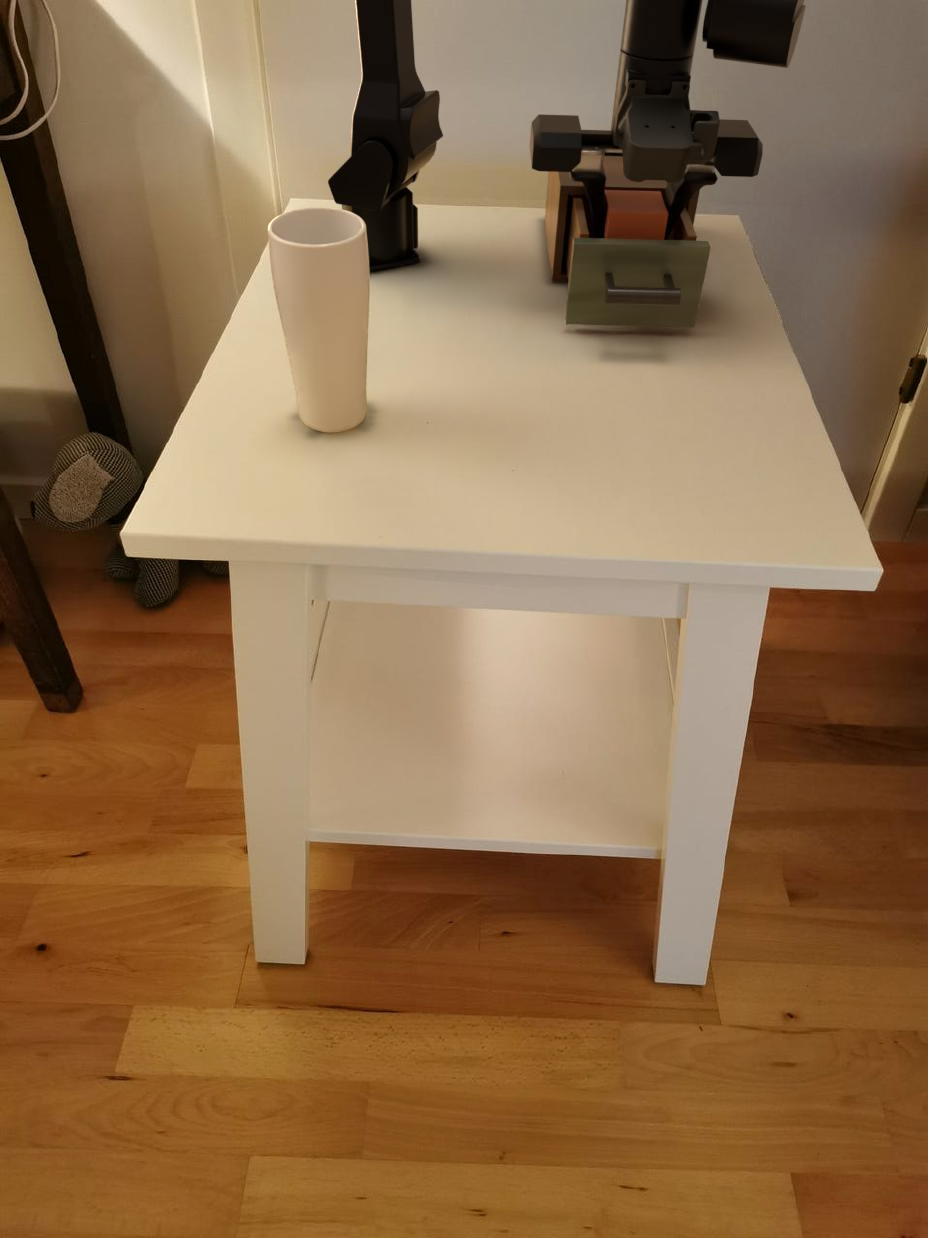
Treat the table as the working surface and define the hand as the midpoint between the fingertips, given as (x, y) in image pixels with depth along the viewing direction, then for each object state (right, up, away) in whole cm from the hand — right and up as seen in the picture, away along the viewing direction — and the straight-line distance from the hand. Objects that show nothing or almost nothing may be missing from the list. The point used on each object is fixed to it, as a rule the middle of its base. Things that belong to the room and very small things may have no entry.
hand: (629, 246), depth 87 cm
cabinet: (0, +4, +12) cm, 13 cm away
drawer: (0, -4, +2) cm, 5 cm away
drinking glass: (-25, -18, -11) cm, 33 cm away
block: (0, -1, +1) cm, 1 cm away
